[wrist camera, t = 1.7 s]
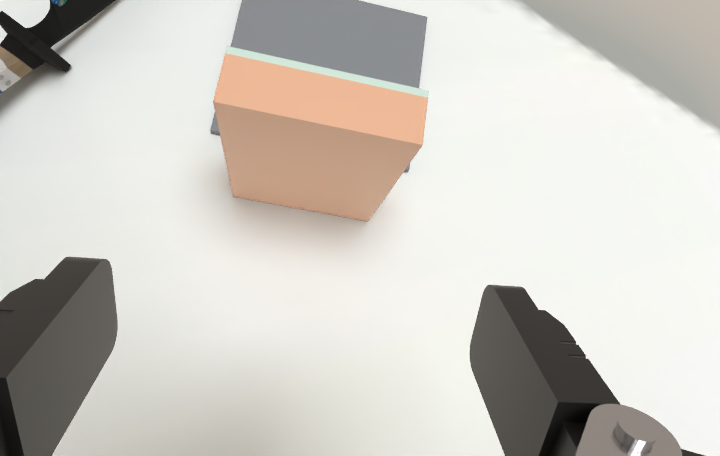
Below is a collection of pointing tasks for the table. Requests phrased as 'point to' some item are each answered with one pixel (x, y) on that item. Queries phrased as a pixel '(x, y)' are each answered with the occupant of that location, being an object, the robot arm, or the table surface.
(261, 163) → the tile
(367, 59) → the slate mat
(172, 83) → the table surface
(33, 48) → the knife
